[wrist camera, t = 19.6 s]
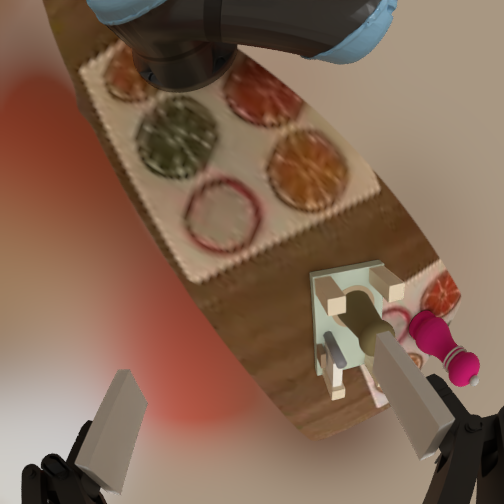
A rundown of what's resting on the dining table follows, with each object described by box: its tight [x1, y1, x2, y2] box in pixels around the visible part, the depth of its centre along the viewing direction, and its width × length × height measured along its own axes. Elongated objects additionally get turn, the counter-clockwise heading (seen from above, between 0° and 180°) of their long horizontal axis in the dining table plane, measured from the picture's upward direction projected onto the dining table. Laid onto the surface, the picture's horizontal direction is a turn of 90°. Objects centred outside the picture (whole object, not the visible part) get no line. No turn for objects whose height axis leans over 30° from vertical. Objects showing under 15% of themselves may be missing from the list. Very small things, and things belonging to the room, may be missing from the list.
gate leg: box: [322, 342, 345, 400], centre depth 42 cm, size 8×2×7 cm, turn 9°
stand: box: [310, 260, 405, 387], centre depth 41 cm, size 20×12×10 cm, turn 9°
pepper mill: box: [409, 311, 480, 387], centre depth 37 cm, size 7×7×20 cm
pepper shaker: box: [337, 290, 395, 357], centre depth 37 cm, size 6×6×11 cm
